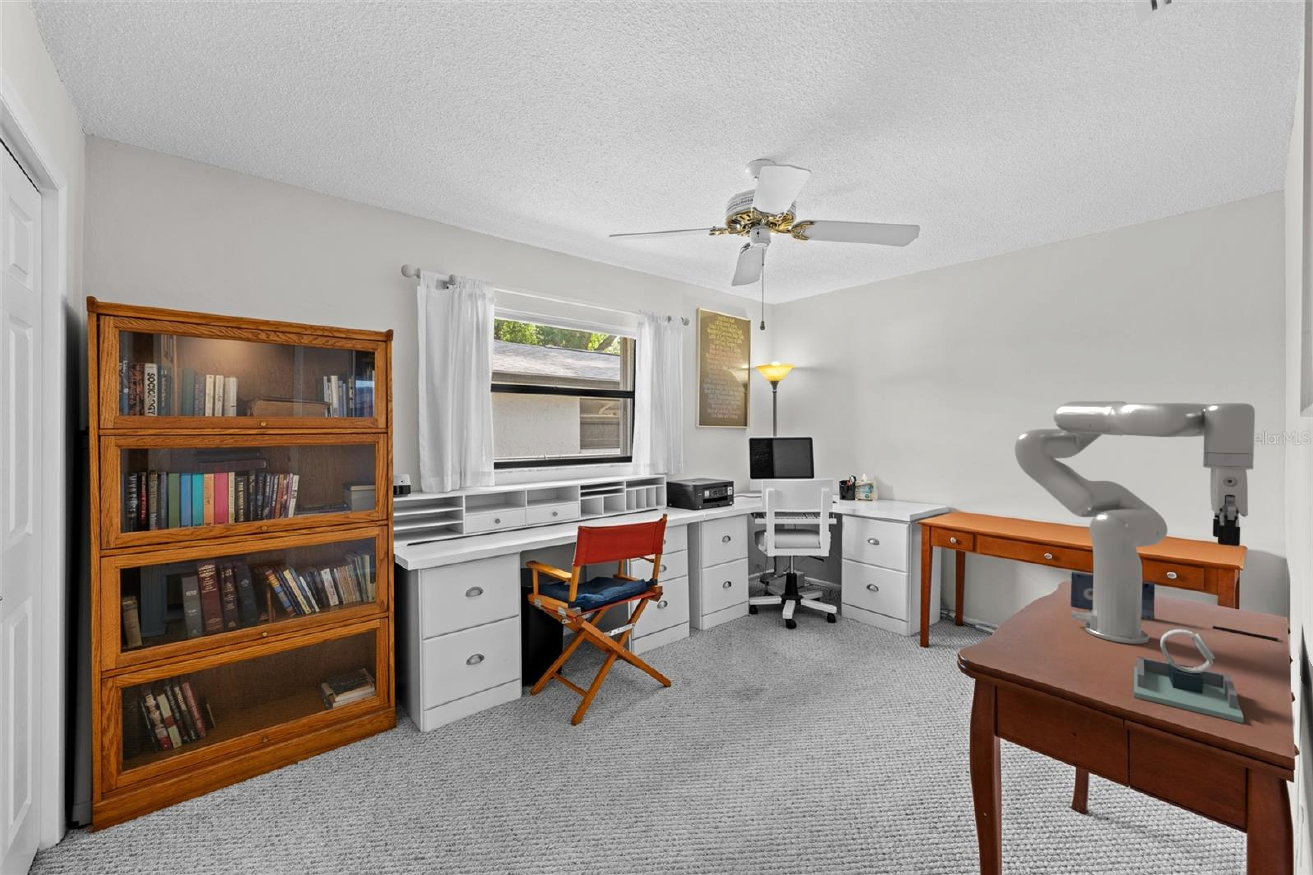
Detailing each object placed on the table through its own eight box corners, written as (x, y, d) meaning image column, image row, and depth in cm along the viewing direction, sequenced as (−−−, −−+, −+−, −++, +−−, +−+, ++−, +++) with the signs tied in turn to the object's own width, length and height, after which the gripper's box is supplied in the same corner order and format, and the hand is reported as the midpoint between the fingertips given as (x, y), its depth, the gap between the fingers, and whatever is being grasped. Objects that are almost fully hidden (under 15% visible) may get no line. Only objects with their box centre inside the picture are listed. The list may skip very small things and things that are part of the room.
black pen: (1282, 642, 138) (1283, 638, 138) (1282, 643, 137) (1282, 639, 137) (1213, 628, 147) (1213, 625, 147) (1212, 629, 146) (1212, 625, 146)
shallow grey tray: (1134, 697, 111) (1134, 679, 111) (1134, 670, 122) (1134, 654, 122) (1243, 723, 101) (1244, 704, 101) (1232, 692, 113) (1233, 674, 113)
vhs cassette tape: (1154, 618, 154) (1155, 582, 154) (1154, 621, 152) (1155, 584, 152) (1071, 604, 166) (1071, 570, 166) (1070, 606, 164) (1070, 572, 164)
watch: (1216, 696, 109) (1218, 640, 109) (1161, 685, 114) (1162, 631, 113) (1210, 685, 113) (1212, 631, 113) (1157, 675, 118) (1158, 623, 118)
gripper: (1260, 464, 111) (1257, 551, 112) (1247, 459, 125) (1244, 536, 125) (1207, 463, 116) (1205, 545, 117) (1199, 458, 129) (1198, 532, 130)
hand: (1225, 541), depth 121 cm, fingers open, 9 cm apart
